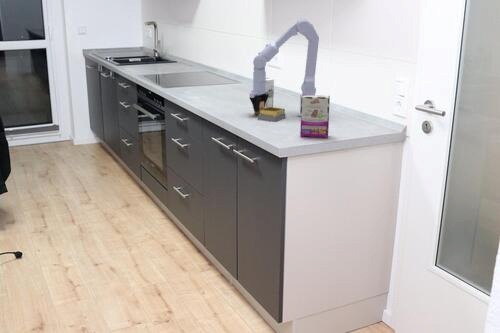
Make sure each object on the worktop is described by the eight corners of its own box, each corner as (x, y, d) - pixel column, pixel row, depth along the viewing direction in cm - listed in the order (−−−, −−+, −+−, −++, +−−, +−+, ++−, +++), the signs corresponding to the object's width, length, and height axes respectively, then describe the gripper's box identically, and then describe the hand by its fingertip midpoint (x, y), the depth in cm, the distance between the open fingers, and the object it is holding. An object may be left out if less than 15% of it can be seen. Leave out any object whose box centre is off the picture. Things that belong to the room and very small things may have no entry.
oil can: (265, 113, 266) (265, 97, 264) (260, 115, 262) (261, 99, 260) (257, 112, 268) (257, 96, 266) (252, 114, 264) (252, 98, 262)
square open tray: (285, 117, 260) (285, 108, 258) (275, 121, 251) (275, 112, 250) (268, 115, 264) (268, 106, 263) (257, 119, 256) (257, 110, 255)
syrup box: (264, 105, 286) (264, 77, 282) (273, 107, 283) (274, 78, 278) (257, 107, 282) (257, 78, 278) (266, 109, 278) (267, 79, 274)
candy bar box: (328, 135, 229) (330, 95, 224) (327, 138, 224) (329, 97, 219) (300, 133, 231) (302, 94, 226) (299, 136, 226) (301, 96, 221)
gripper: (259, 79, 269) (259, 107, 273) (243, 83, 257) (243, 112, 261) (272, 80, 265) (272, 108, 269) (257, 84, 253) (257, 114, 257)
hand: (259, 110), depth 265 cm, fingers closed on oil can, 5 cm apart
